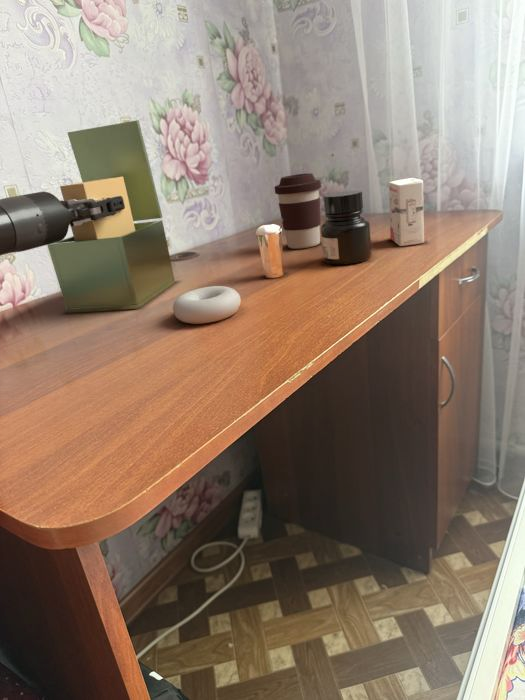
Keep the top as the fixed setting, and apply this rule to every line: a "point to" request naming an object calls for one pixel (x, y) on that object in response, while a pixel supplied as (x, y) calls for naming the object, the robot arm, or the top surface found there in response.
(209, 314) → the donut
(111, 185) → the tan block
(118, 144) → the bin lid
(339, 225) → the ink bottle
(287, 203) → the coffee cup
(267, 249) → the milkshake
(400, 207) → the ink box
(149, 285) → the bin
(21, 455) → the top surface
